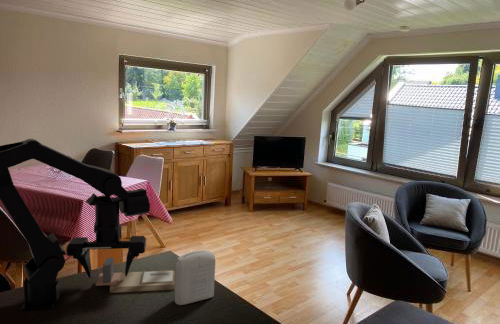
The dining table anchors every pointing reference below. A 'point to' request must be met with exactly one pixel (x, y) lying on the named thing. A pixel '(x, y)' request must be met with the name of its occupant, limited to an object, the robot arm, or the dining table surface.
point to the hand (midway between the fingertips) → (108, 276)
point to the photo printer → (194, 277)
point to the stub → (108, 274)
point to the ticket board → (144, 281)
